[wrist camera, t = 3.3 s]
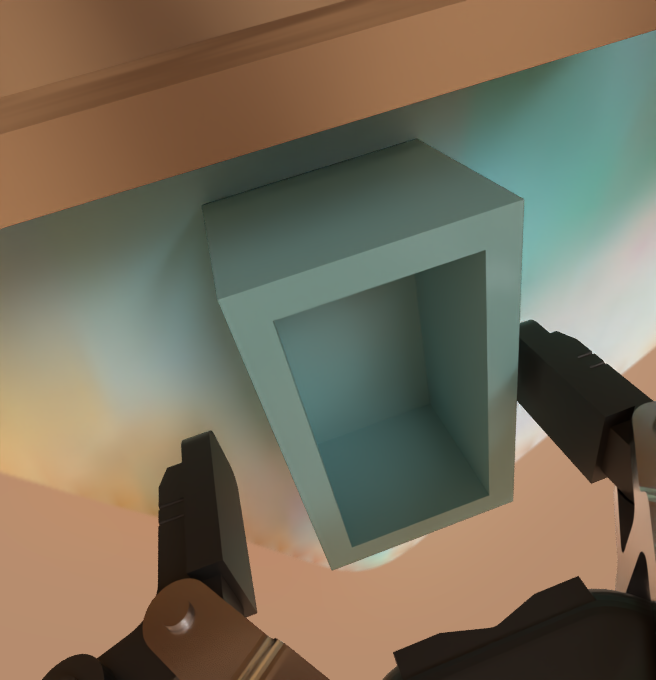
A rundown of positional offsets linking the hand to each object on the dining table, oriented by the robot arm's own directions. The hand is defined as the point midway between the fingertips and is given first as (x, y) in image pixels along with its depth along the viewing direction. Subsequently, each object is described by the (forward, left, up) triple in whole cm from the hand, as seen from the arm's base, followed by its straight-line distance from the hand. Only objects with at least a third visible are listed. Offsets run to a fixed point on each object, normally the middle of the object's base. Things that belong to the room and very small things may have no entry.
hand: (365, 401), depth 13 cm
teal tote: (-1, 0, -4) cm, 4 cm away
